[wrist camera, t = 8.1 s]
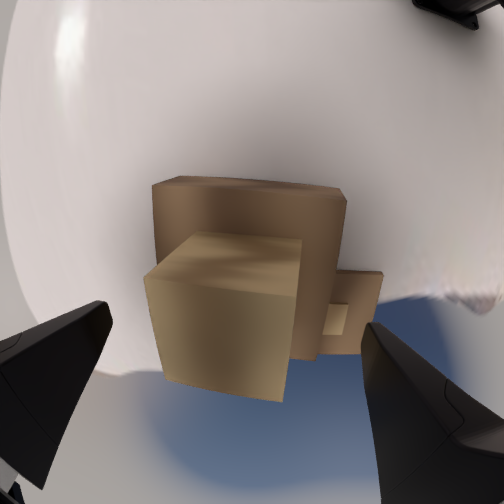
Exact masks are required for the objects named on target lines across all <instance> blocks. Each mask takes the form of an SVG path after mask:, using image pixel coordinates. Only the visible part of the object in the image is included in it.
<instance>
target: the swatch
mask: <svg viewBox="0 0 504 504" xmlns="http://www.w3.org/2000/svg"><path fill="white" fill-rule="evenodd" d="M383 276H384V275H383V273H382V272H372V271H348V270H336V273H335V278H334V283H333V288H332V293H331V298H330V302H329V307H328V312H327V316H326V321H325V325H324V329H323V333H322V338H321V342H320V346H319V350H318V354H361V340H362V337H363V333H364V330H365V326H366V324H367V323H368V322H372V320H373V317H374V313H375V309H376V305H377V301H378V297H379V293H380V289H381V285H382V281H383Z"/></svg>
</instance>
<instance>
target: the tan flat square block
mask: <svg viewBox="0 0 504 504" xmlns="http://www.w3.org/2000/svg"><path fill="white" fill-rule="evenodd" d="M152 200H153V220H154V235H155V248H156V259H157V265H158V264H159V263H160V262H161V261H163V260H164V259H165V258H166V257H167V256H168V255H169V254H171V253H172V252H173V251H174V250H175V249H176V248H178V247H179V246H180V245H181V244H182V243H183V242H185V241H186V240H187V239H188V238H189V237H190V236H192V235H193V234H194V233H195V232H196V231H202V232H215V233H229V234H242V235H255V236H267V237H279V238H291V239H302V248H301V259H300V270H299V281H298V291H297V300H296V309H295V318H294V327H293V334H292V342H291V349H290V356H289V358H292V359H300V360H309V361H316V357H317V354H318V350H319V346H320V342H321V338H322V333H323V329H324V325H325V321H326V316H327V312H328V307H329V302H330V298H331V293H332V288H333V283H334V278H335V273H336V267H337V262H338V256H339V250H340V244H341V238H342V232H343V225H344V219H345V212H346V204H347V200H346V199H345V197H344V195H343V194H342V192H341V190H340V189H339V188H331V187H323V186H315V185H306V184H296V183H287V182H276V181H265V180H252V179H238V178H221V177H200V176H178V177H175V178H172V179H169V180H166V181H163V182H160V183H157V184H154V185H152Z"/></svg>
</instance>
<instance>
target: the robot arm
mask: <svg viewBox="0 0 504 504" xmlns="http://www.w3.org/2000/svg"><path fill="white" fill-rule="evenodd" d="M412 1H413V3H414V5H415V6H417V7H419V8H421V9H424V10H427V11H430V12H432V13H435V14H438V15H440V16H443V17H445V18H448V19H450V20H452V21H455V22H457V23H459V24H461V25H463V26H466V27H468V28H470V29H472V30H474V31H475V30H478V29H479V25H478V21H477V16H476V14H478V13H480V12H483V11H485V10H487V9H489V8H491V7H493V6H495V5H498V4H500V5H501V6H502V7H503V8H504V0H412ZM418 1H419V2H420V3H421V4H420V3H419V2H418ZM112 325H113V319H112V316H111V313H110V309H109V306H108V304H107V302H105V301H99V300H97V301H94V302H92V303H89V304H87V305H85V306H82V307H80V308H77V309H75V310H73V311H70V312H68V313H65V314H63V315H61V316H58V317H56V318H54V319H51V320H49V321H47V322H44V323H42V324H40V325H37V326H35V327H33V328H31V329H28V330H26V331H24V332H21V333H19V334H17V335H14V336H12V337H9V338H7V339H4V340H2V341H0V504H25V503H24V500H23V496H22V492H21V489H20V485H19V484H18V483H17V482H16V481H15V479H16V477H17V475H18V474H20V475H21V476H22V477H24V478H25V479H26V480H28V481H29V482H31V483H32V484H33V485H35V486H36V487H38V488H39V489H41V490H42V489H43V487H44V485H45V482H46V479H47V476H48V473H49V471H50V468H51V465H52V462H53V460H54V457H55V455H56V452H57V449H58V446H59V444H60V442H61V439H62V437H63V434H64V432H65V430H66V427H67V425H68V423H69V420H70V418H71V416H72V414H73V411H74V409H75V407H76V405H77V402H78V401H79V398H80V396H81V394H82V392H83V390H84V388H85V386H86V384H87V382H88V380H89V378H90V376H91V374H92V372H93V370H94V368H95V366H96V364H97V362H98V360H99V358H100V355H101V353H102V350H103V348H104V345H105V343H106V340H107V338H108V335H109V333H110V331H111V328H112ZM361 357H362V367H363V379H364V389H365V394H366V399H367V405H368V409H369V415H370V421H371V427H372V433H373V439H374V445H375V453H376V460H377V467H378V474H379V484H380V493H381V498H382V499H381V504H504V419H502V418H501V417H500V416H498V415H497V414H495V413H494V412H492V411H491V410H489V409H488V408H487V407H485V406H484V405H482V404H481V403H479V402H478V401H477V400H475V399H474V398H472V397H471V396H470V395H468V394H467V393H466V392H464V391H463V390H462V389H461V388H459V387H458V386H457V385H456V384H454V383H453V382H452V381H451V380H450V379H448V378H447V377H446V376H445V375H444V374H442V373H441V372H440V371H439V370H438V369H436V368H435V367H434V366H433V365H431V364H430V363H429V362H428V361H427V360H425V359H424V358H423V357H422V356H420V355H419V354H418V353H417V352H416V351H414V350H413V349H412V348H411V347H409V346H408V345H407V344H406V343H404V342H403V341H402V340H401V339H400V338H398V337H397V336H396V335H395V334H393V333H392V332H391V331H390V330H388V329H387V328H386V327H385V326H383V325H382V324H381V323H379V322H368V323H367V324H366V326H365V330H364V333H363V337H362V340H361Z"/></svg>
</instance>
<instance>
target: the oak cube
mask: <svg viewBox="0 0 504 504" xmlns="http://www.w3.org/2000/svg"><path fill="white" fill-rule="evenodd" d="M301 248H302V239H291V238H279V237H267V236H255V235H242V234H229V233H215V232H202V231H196V232H195V233H194V234H193V235H192V236H190V237H189V238H188V239H187V240H186V241H185V242H183V243H182V244H181V245H180V246H179V247H178V248H176V249H175V250H174V251H173V252H172V253H171V254H169V255H168V256H167V257H166V258H165V259H164V260H163V261H161V262H160V263H159V264H158V265H157V266H156V267H155V268H153V269H152V270H151V271H150V272H149V273H148V274H147V275H146V276H144V277H143V278H144V284H145V290H146V296H147V301H148V306H149V311H150V316H151V321H152V326H153V330H154V335H155V339H156V344H157V348H158V352H159V356H160V360H161V364H162V368H163V372H164V375H165V379H166V380H170V381H173V382H178V383H181V384H185V385H189V386H193V387H198V388H202V389H207V390H211V391H217V392H221V393H227V394H232V395H237V396H244V397H250V398H256V399H263V400H270V401H278V402H282V401H283V395H284V389H285V383H286V376H287V369H288V363H289V356H290V349H291V342H292V334H293V327H294V318H295V309H296V300H297V291H298V281H299V270H300V259H301Z"/></svg>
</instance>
